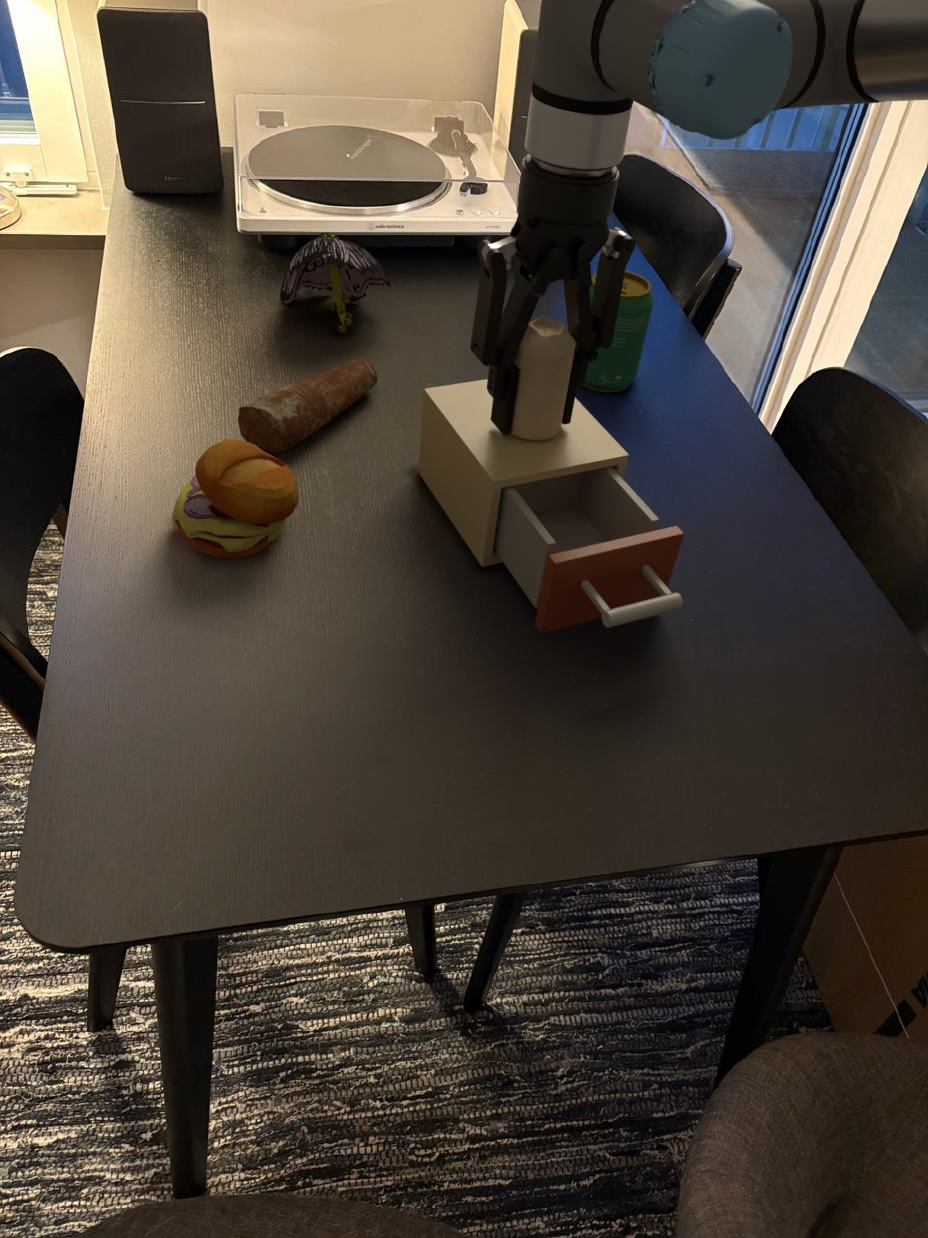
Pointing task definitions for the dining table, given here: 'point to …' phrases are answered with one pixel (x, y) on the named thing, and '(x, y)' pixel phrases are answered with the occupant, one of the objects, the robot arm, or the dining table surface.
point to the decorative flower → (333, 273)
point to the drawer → (586, 550)
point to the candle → (542, 379)
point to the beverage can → (623, 337)
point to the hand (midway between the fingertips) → (530, 420)
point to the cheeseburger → (235, 500)
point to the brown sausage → (304, 406)
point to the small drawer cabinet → (497, 458)
